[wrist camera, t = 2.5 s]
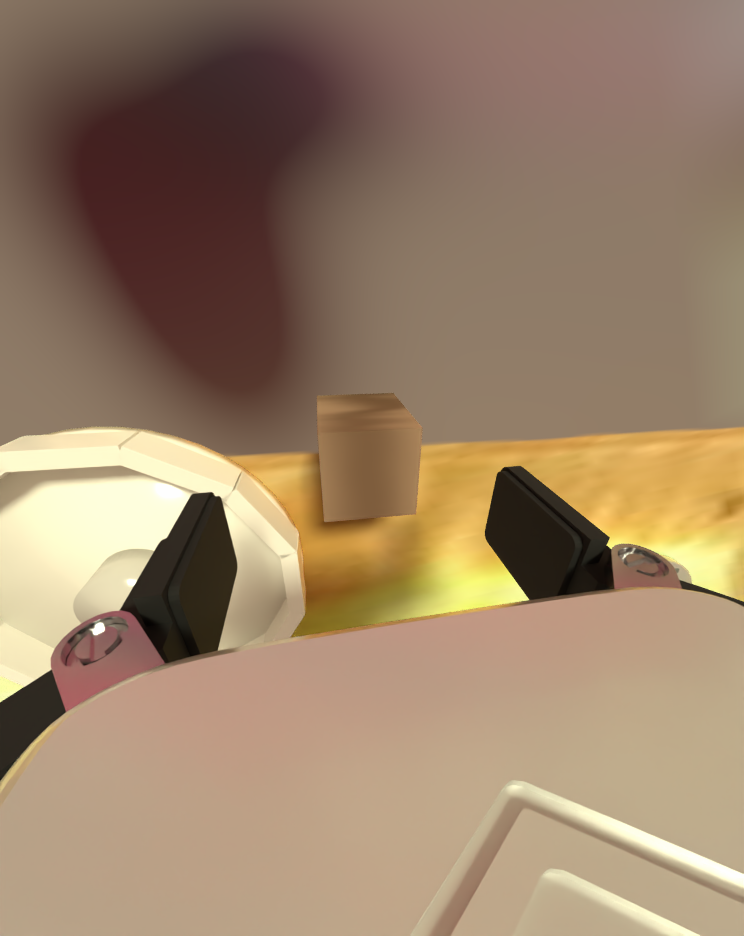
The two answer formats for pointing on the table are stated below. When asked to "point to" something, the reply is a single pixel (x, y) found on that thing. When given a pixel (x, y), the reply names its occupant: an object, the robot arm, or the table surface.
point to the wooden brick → (367, 456)
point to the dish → (127, 536)
